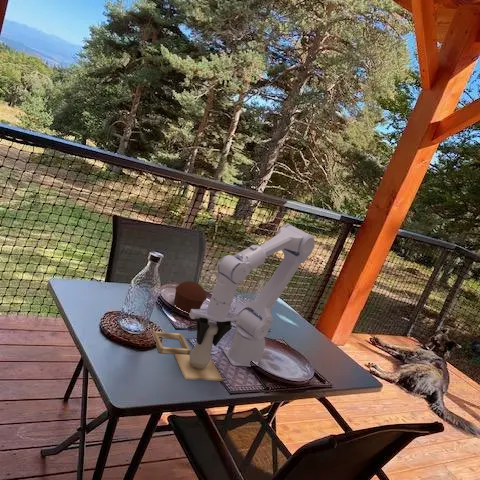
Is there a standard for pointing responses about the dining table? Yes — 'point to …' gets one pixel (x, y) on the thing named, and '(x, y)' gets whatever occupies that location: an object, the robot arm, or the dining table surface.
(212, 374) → the cork mat
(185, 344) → the birch collar
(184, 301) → the muffin
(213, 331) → the beige bowling pin
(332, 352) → the dining table surface
